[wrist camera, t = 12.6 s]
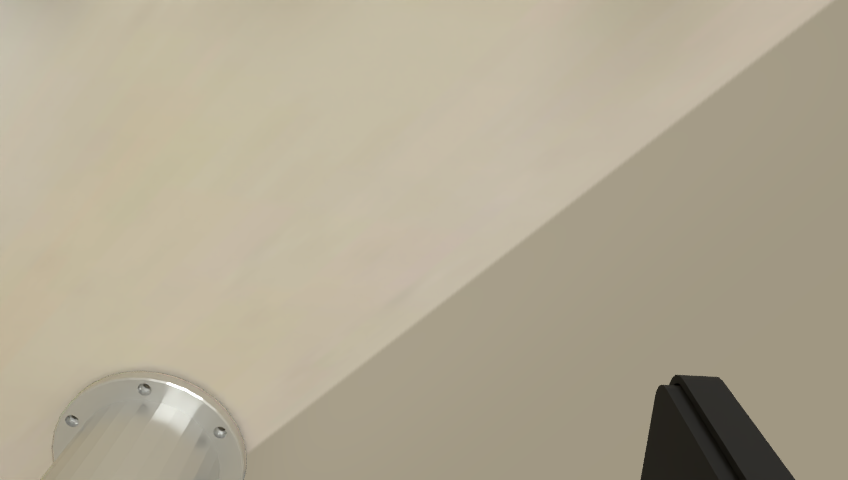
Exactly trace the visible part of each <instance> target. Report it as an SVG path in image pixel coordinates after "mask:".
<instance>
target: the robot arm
mask: <svg viewBox="0 0 848 480" xmlns="http://www.w3.org/2000/svg"><path fill="white" fill-rule="evenodd" d="M52 452H53V462H54V463H53V464H52V466H51V467H50V468H49V469H48V471H47V472H46V473H45V474H44V476H43V477H42V478H41V479H40V480H244V477H245V472H246V450H245V445H244V441H243V438H242V435H241V433H240V431H239V429H238V426H237V424H236V423H235V421H234V420H233V418H232V417H231V416H230V414H229V413H228V411H227V410H226V409H225V408H224V407H223V406H222V405H221V404H220V403H219V402H218V401H217V400H216V399H215V398H214V397H212V396H211V395H209V394H208V393H207V392H205V391H204V390H202V389H201V388H199V387H198V386H196V385H194V384H191V383H189V382H187V381H185V380H183V379H181V378H177V377H174V376H170V375H167V374H163V373H156V372H147V371H137V372H124V373H119V374H115V375H111V376H107V377H105V378H103V379H101V380H98V381H96V382H94V383H92V384H91V385H89V386H88V387H87V388H85V389H84V390H82V391H81V392H80V393H79V394H78V395H77V396H76V397H75V398H74V399H73V400H72V401H71V402H70V403H69V405H68V406H67V407H66V409H65V410H64V411H63V413H62V414H61V416H60V417H59V420H58V423H57V425H56V428H55V430H54V435H53V443H52ZM641 480H795V479H794V478H793V476H792V475H791V473H790V472H789V471H788V469H787V468H786V467H785V465H784V464H783V463H782V461H781V460H780V458H779V457H778V456H777V454H776V453H775V452H774V450H773V449H772V447H771V446H770V445H769V443H768V442H767V441H766V439H765V438H764V437H763V435H762V434H761V433H760V431H759V430H758V428H757V427H756V426H755V424H754V423H753V422H752V420H751V419H750V418H749V416H748V415H747V414H746V412H745V411H744V409H743V408H742V407H741V405H740V404H739V403H738V401H737V400H736V399H735V397H734V396H733V394H732V393H731V392H730V390H729V389H728V388H727V386H726V385H725V384H724V382H723V381H722V380H721V379H720V378H719V377H706V376H687V375H675V376H674V377H673V378H672V380H671V382H670V384H669V385H660V386H659V387H658V389H657V392H656V395H655V401H654V407H653V412H652V418H651V424H650V429H649V435H648V441H647V446H646V452H645V458H644V464H643V469H642V475H641Z"/></svg>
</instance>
